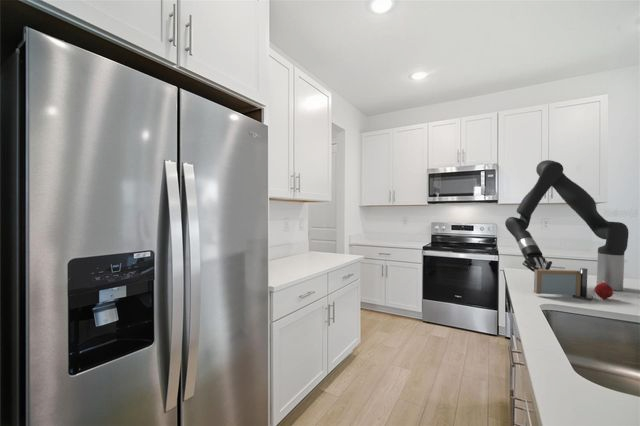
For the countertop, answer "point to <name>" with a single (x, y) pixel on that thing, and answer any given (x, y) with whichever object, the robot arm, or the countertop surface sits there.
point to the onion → (603, 290)
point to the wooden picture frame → (557, 282)
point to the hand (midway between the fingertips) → (545, 279)
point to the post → (583, 286)
